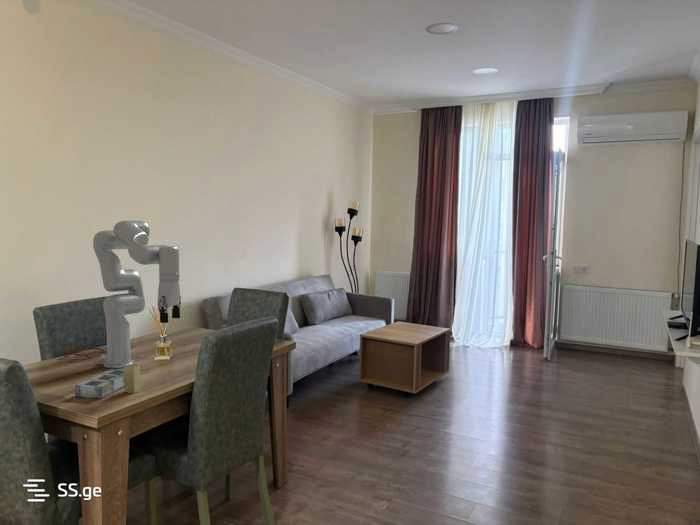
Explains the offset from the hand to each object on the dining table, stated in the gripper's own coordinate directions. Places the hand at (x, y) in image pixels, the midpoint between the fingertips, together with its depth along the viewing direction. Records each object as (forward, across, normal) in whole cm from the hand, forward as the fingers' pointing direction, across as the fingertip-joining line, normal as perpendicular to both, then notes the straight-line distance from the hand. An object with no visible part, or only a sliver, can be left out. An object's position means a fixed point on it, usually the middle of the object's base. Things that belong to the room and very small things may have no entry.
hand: (170, 320), depth 209 cm
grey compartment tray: (+25, +13, -20) cm, 34 cm away
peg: (+25, +13, -9) cm, 30 cm away
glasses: (+25, -31, -60) cm, 72 cm away
